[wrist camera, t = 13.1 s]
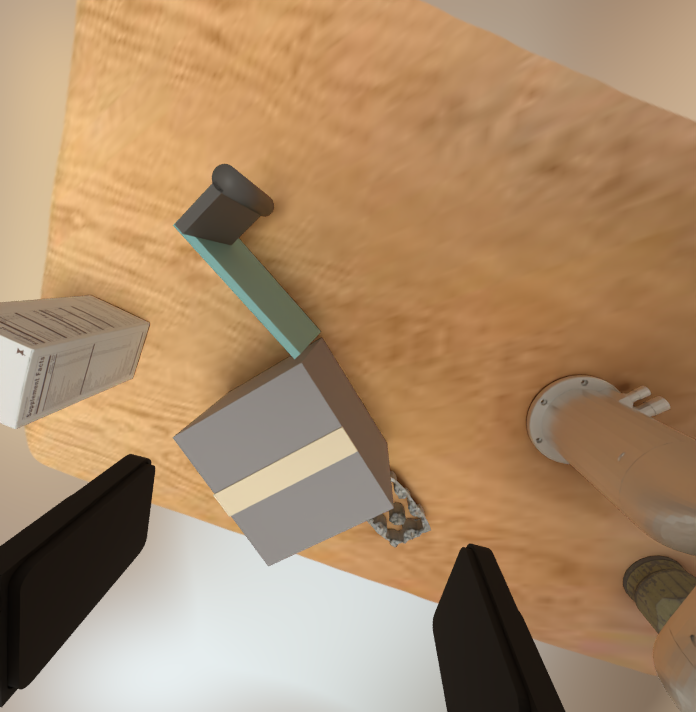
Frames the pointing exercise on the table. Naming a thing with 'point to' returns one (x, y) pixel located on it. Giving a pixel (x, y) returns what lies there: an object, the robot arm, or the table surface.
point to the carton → (292, 455)
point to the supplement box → (63, 354)
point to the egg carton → (401, 518)
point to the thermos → (658, 588)
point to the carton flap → (243, 254)
